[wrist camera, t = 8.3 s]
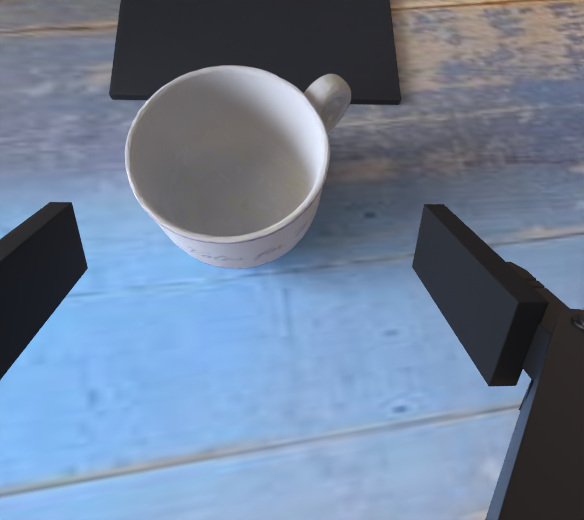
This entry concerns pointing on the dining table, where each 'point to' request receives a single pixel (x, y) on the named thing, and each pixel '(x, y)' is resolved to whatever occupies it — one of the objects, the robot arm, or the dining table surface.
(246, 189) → the teacup
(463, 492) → the dining table surface
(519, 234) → the dining table surface
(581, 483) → the robot arm
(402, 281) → the dining table surface
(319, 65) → the placemat
